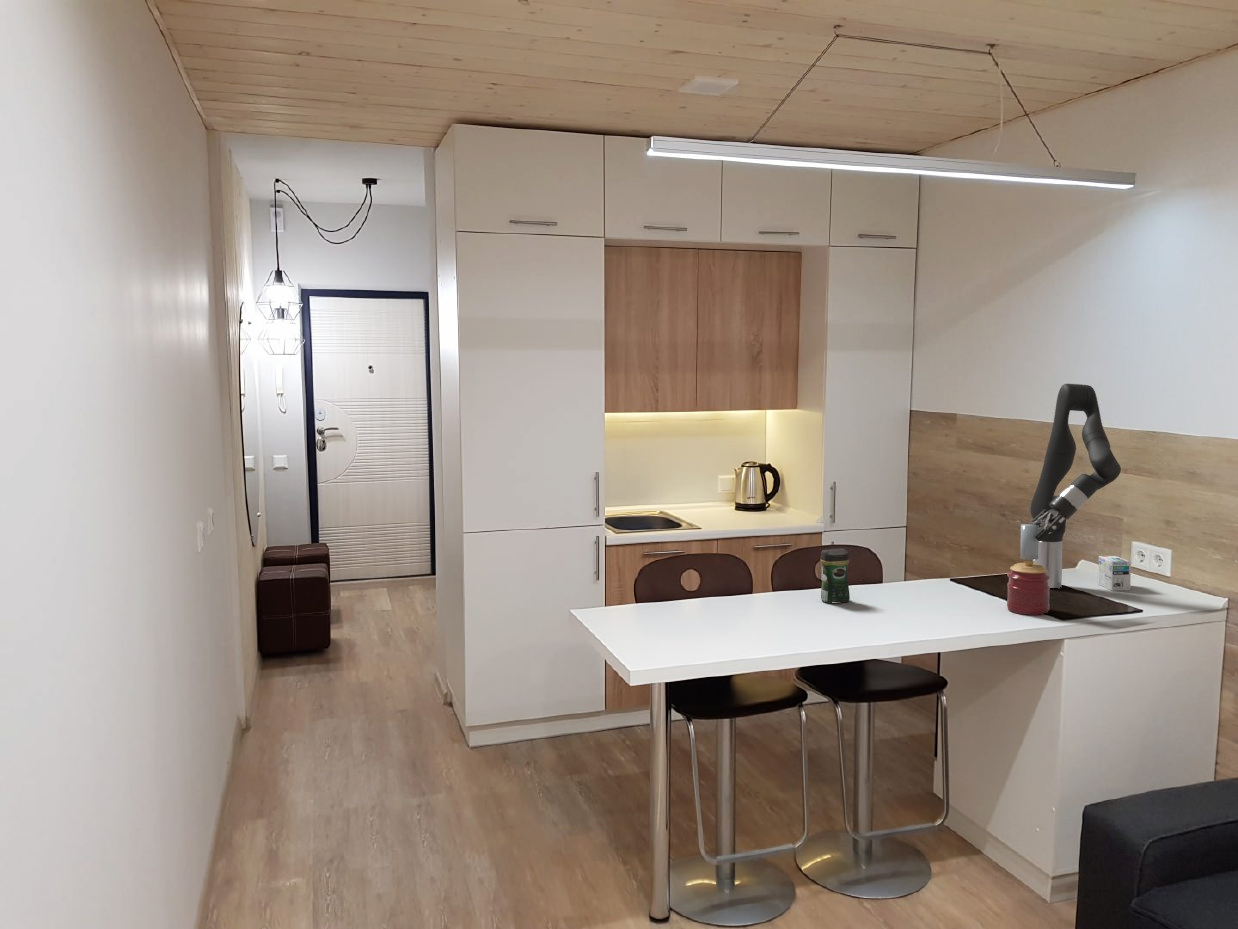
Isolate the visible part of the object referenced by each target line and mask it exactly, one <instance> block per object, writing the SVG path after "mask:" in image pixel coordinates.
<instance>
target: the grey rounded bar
mask: <svg viewBox="0 0 1238 929" xmlns="http://www.w3.org/2000/svg"><path fill="white" fill-rule="evenodd" d="M1039 529H1040V528H1039V525H1035V524H1031V523H1021V524H1020V552H1019V553H1020V559H1022V560H1037V559H1038V548H1039V541H1038V540H1037V539H1036V538H1035V536H1036V535H1037V534H1038V533H1039Z"/></svg>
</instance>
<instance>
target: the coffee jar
mask: <svg viewBox="0 0 1238 929" xmlns="http://www.w3.org/2000/svg"><path fill="white" fill-rule="evenodd" d="M820 552H821V553H820V563H821V566H822V577H821V578H822V579H821V591H820V600H821V601H822V602H824V601H825V602H826V603H828V602H830V603H829V604H833V603H832V602H843V603H847V602H846V601H848V602H849V601H850V599H851V598H850V597H851V594H850V587H849V578H848V577H849V576H848V566H849V563H850V557H849V552H848V550H846V549H844V548H832V549H831V548H830V549H823V550H821V551H820ZM825 602H824V603H825Z"/></svg>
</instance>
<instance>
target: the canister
mask: <svg viewBox="0 0 1238 929" xmlns="http://www.w3.org/2000/svg"><path fill="white" fill-rule="evenodd" d="M1009 570H1010V572H1008V573H1007V574H1006V575H1007V577H1008V582H1007V584H1006V585H1007V600H1006V607H1007V610H1008V611H1009V612H1011V613H1015V614H1019V615H1024V614H1026V615H1025V616H1040V615H1039V614H1043V615H1045V614H1044V613H1047V612H1048V611H1049V612H1050V609H1051V607H1050V590H1051V589H1050V586H1049V584H1048V580H1049V579H1050V576H1049V575H1048V574H1047V573H1046V572H1047V571H1048V570H1047V569H1046V568H1045V567H1043V566H1042V565H1040V564H1035V563H1033V560H1026V559H1024V562H1017V563H1015V564H1013V565H1012V566H1010V568H1009ZM1049 612H1048V613H1049ZM1048 613H1047V614H1048ZM1027 614H1028V615H1027ZM1029 614H1030V615H1029Z"/></svg>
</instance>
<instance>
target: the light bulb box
mask: <svg viewBox="0 0 1238 929" xmlns="http://www.w3.org/2000/svg"><path fill="white" fill-rule="evenodd" d="M1131 570H1132V562H1131V560H1127V559H1124V558H1123V557H1119V556H1118V555H1098V574H1097V575H1098V577H1097V578H1098V580H1097V584H1098V585H1100V586H1101V587H1103V588H1105V589H1107V590H1110V591H1112V592H1115V591H1117V592H1121V591H1131V574H1132V572H1131Z"/></svg>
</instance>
